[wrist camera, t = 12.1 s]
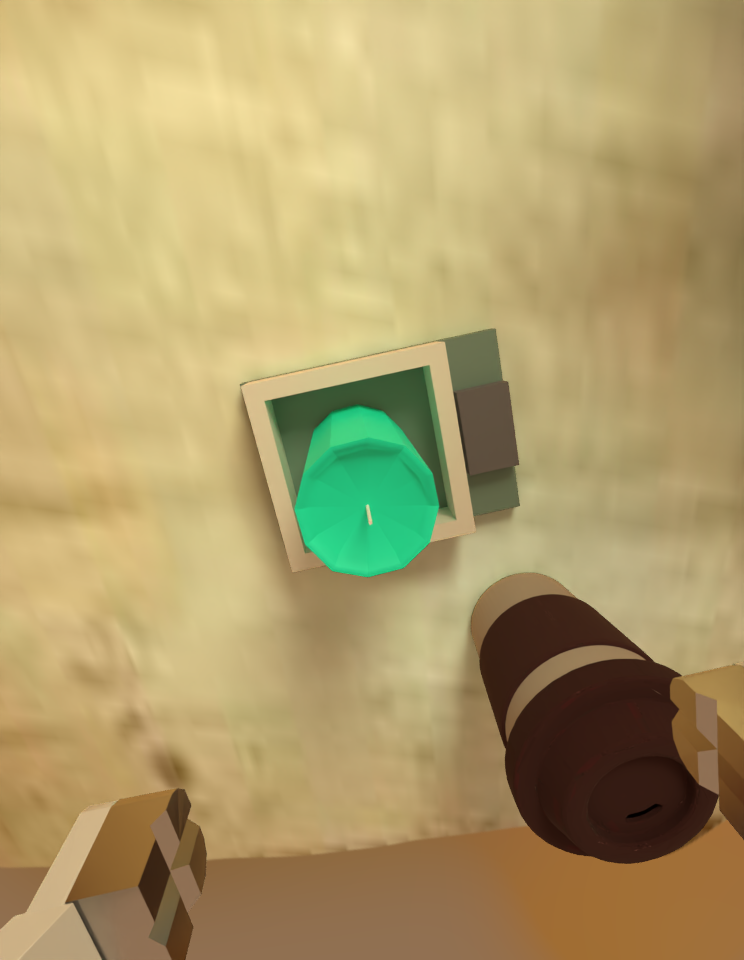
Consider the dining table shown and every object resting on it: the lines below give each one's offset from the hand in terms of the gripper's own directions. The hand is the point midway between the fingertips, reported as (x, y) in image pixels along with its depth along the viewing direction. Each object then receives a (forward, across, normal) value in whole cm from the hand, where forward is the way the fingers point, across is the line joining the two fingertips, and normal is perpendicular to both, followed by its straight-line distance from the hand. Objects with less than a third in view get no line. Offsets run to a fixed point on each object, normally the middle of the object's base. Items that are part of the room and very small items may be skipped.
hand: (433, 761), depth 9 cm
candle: (+24, 0, 0) cm, 24 cm away
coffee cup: (+25, -8, +14) cm, 30 cm away
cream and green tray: (+25, -1, 0) cm, 25 cm away
